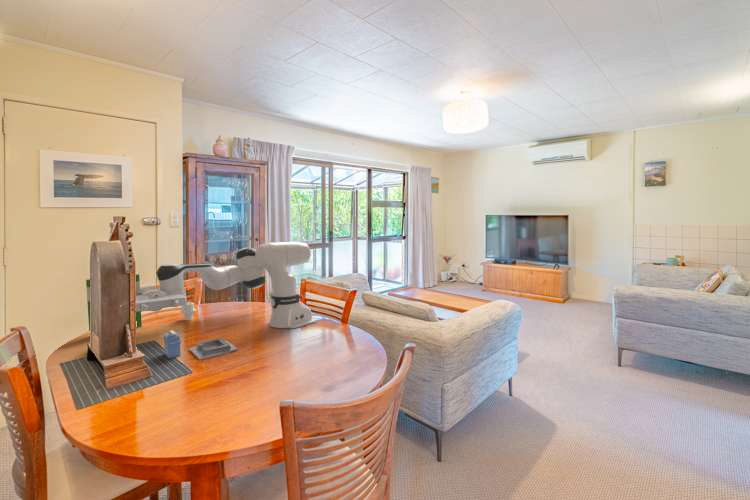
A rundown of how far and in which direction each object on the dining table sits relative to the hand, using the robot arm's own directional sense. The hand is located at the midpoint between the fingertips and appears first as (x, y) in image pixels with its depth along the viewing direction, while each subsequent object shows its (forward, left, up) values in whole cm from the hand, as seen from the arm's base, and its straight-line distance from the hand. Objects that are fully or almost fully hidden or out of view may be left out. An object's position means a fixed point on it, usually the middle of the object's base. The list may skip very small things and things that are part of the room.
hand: (162, 306), depth 145 cm
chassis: (-13, +17, -16) cm, 27 cm away
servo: (0, +12, -16) cm, 20 cm away
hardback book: (+12, -32, -16) cm, 37 cm away
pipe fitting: (-17, -32, -16) cm, 39 cm away
